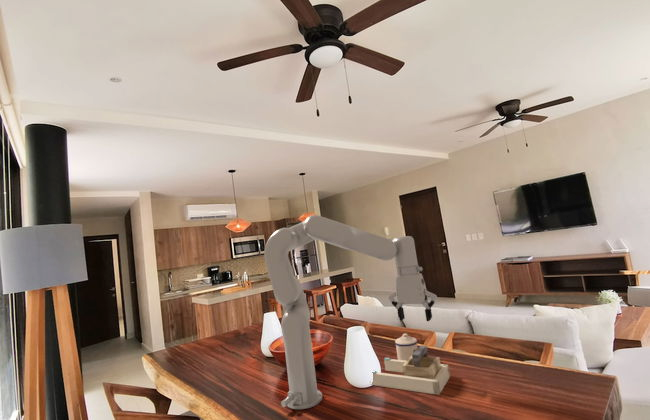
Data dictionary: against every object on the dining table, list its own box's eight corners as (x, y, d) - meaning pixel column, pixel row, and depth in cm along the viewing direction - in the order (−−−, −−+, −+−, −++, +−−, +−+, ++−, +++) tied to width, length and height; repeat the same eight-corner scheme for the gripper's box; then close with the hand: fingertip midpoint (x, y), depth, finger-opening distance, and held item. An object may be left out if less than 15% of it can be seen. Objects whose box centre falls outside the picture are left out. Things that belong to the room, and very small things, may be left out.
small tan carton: (434, 390, 107) (429, 356, 108) (405, 386, 113) (400, 354, 114) (442, 378, 115) (437, 346, 116) (415, 374, 121) (410, 344, 122)
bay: (439, 399, 103) (436, 381, 104) (370, 388, 116) (368, 373, 117) (451, 378, 117) (448, 362, 117) (388, 370, 130) (386, 356, 130)
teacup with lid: (417, 368, 129) (413, 337, 130) (395, 366, 133) (391, 337, 134) (424, 357, 139) (420, 328, 140) (403, 355, 144) (399, 328, 145)
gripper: (435, 268, 116) (443, 317, 114) (389, 271, 125) (396, 316, 124) (428, 271, 110) (437, 323, 108) (381, 274, 119) (388, 322, 118)
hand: (415, 319), depth 116 cm, fingers open, 9 cm apart
